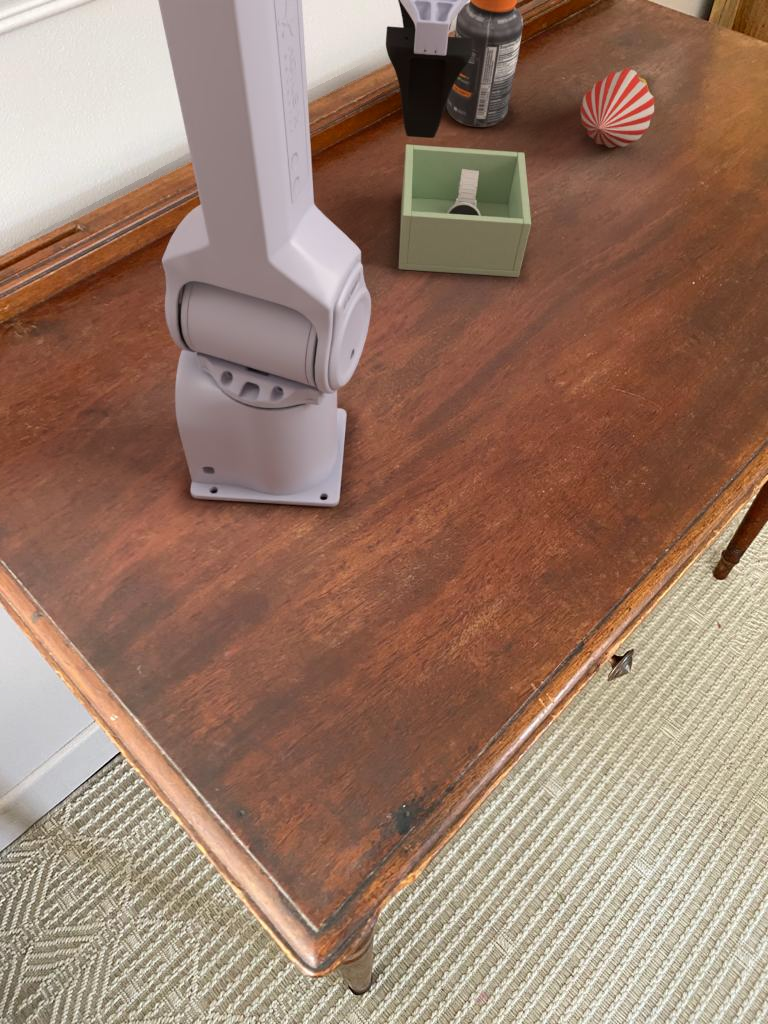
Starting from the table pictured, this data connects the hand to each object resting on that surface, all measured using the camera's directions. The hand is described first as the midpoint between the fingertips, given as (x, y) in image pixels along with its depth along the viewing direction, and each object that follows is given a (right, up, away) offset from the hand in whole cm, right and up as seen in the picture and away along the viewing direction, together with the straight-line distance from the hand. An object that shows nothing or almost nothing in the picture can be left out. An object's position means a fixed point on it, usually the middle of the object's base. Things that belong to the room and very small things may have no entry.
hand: (421, 105), depth 60 cm
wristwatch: (+4, -7, +7) cm, 11 cm away
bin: (+3, -7, +7) cm, 11 cm away
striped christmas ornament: (+20, +7, +18) cm, 28 cm away
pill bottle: (+6, +8, +18) cm, 21 cm away
